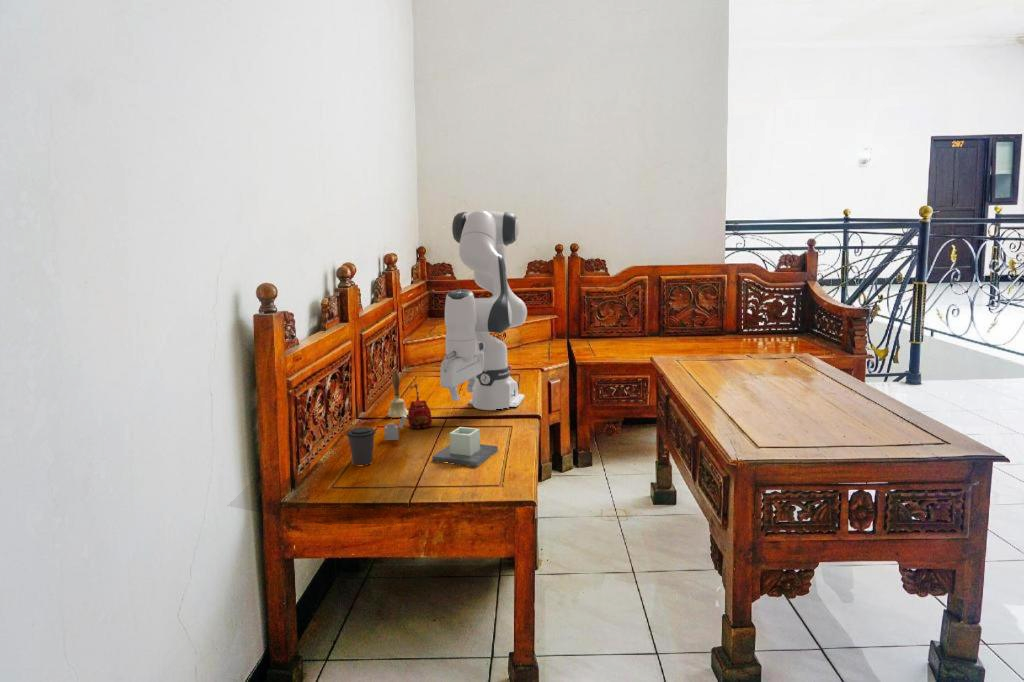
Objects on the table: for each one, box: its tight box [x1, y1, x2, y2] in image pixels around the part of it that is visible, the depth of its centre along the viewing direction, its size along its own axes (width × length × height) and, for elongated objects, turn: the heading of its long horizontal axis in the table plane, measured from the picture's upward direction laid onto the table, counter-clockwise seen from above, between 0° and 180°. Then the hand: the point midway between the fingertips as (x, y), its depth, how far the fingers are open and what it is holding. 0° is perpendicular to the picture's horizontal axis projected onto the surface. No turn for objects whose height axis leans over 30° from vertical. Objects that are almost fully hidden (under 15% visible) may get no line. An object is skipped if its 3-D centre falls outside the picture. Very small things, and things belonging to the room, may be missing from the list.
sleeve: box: [449, 426, 481, 456], centre depth 207 cm, size 6×6×6 cm
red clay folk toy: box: [407, 380, 432, 430], centre depth 235 cm, size 8×7×15 cm
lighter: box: [384, 414, 408, 441], centre depth 224 cm, size 7×2×8 cm, turn 92°
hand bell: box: [386, 369, 409, 417], centre depth 249 cm, size 8×8×16 cm
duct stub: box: [431, 433, 499, 468], centre depth 208 cm, size 14×14×6 cm
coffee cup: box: [346, 426, 376, 466], centre depth 204 cm, size 8×8×10 cm
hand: (463, 395), depth 205 cm, fingers open, 8 cm apart
